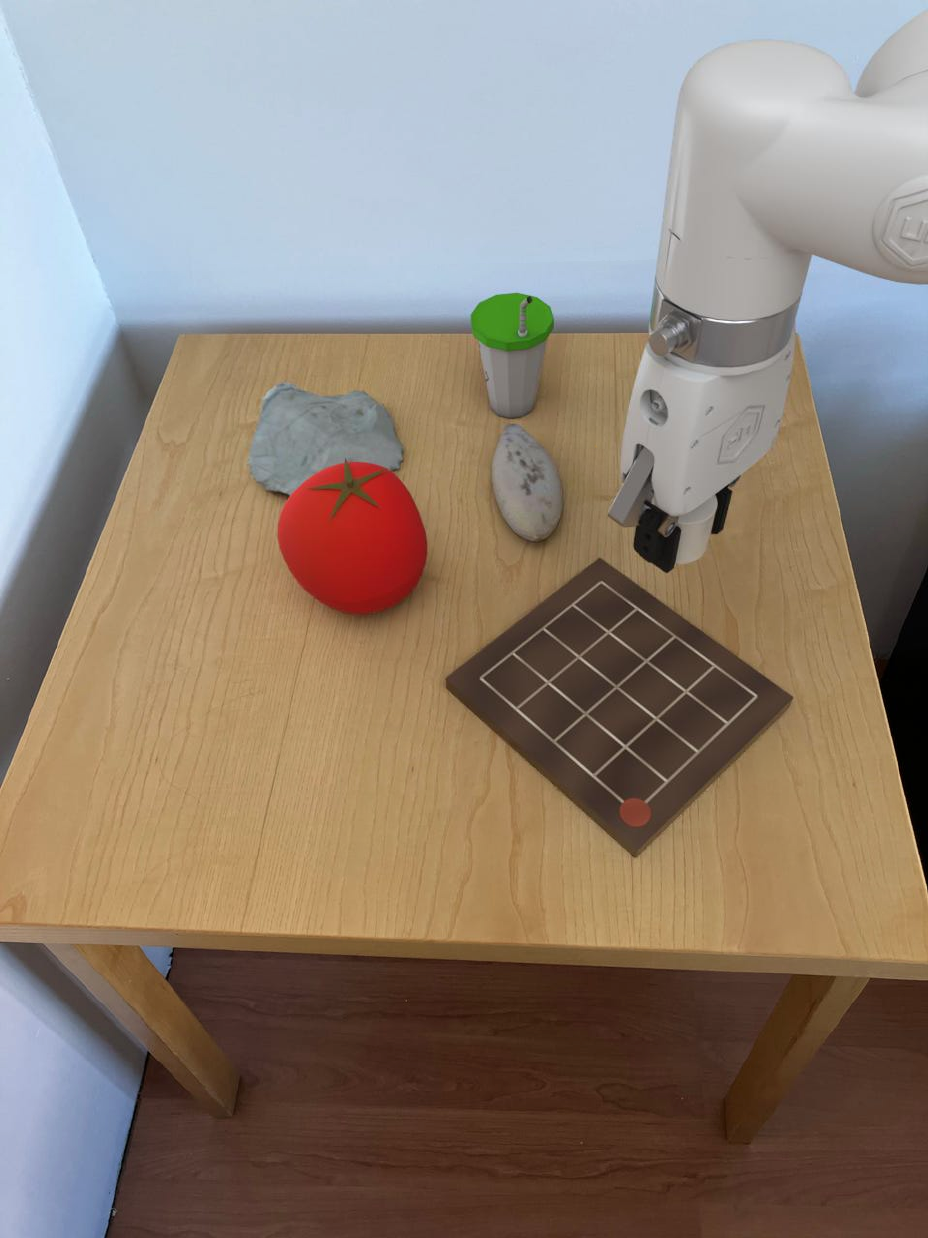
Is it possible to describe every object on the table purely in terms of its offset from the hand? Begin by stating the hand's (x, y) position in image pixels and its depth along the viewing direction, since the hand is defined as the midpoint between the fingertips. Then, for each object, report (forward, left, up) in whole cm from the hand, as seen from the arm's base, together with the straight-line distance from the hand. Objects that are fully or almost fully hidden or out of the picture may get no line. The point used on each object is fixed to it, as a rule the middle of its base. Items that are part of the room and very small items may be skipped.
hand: (678, 538), depth 65 cm
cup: (+31, -14, -15) cm, 38 cm away
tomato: (+23, +12, -15) cm, 30 cm away
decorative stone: (+21, -7, -15) cm, 27 cm away
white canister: (0, 0, 0) cm, 0 cm away
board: (0, +4, -15) cm, 16 cm away
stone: (+39, +4, -15) cm, 42 cm away
